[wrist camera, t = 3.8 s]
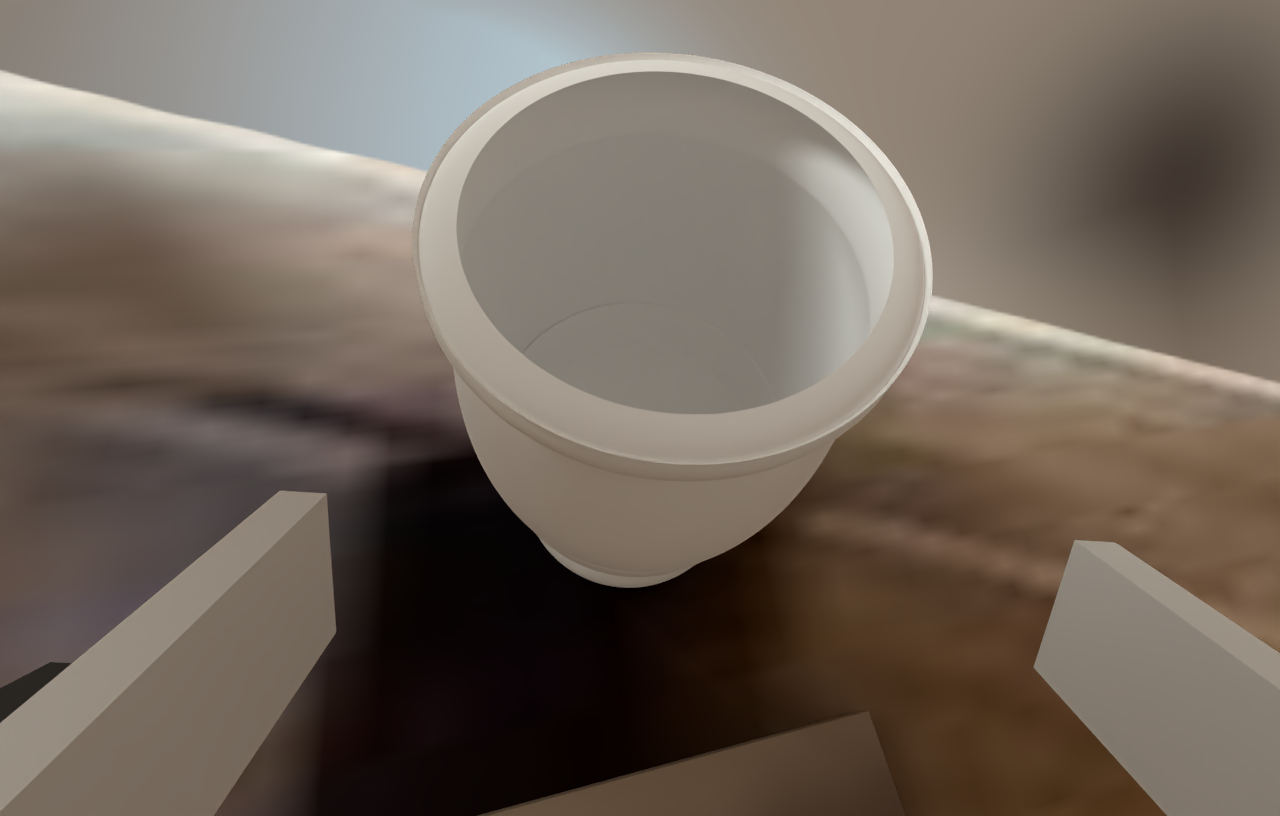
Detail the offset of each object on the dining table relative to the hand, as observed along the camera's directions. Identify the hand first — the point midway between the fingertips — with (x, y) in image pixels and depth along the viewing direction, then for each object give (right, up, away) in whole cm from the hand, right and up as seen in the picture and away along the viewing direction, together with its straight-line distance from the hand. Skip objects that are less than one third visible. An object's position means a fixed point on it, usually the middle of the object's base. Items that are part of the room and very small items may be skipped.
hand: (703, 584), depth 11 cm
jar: (-2, 0, +15) cm, 15 cm away
